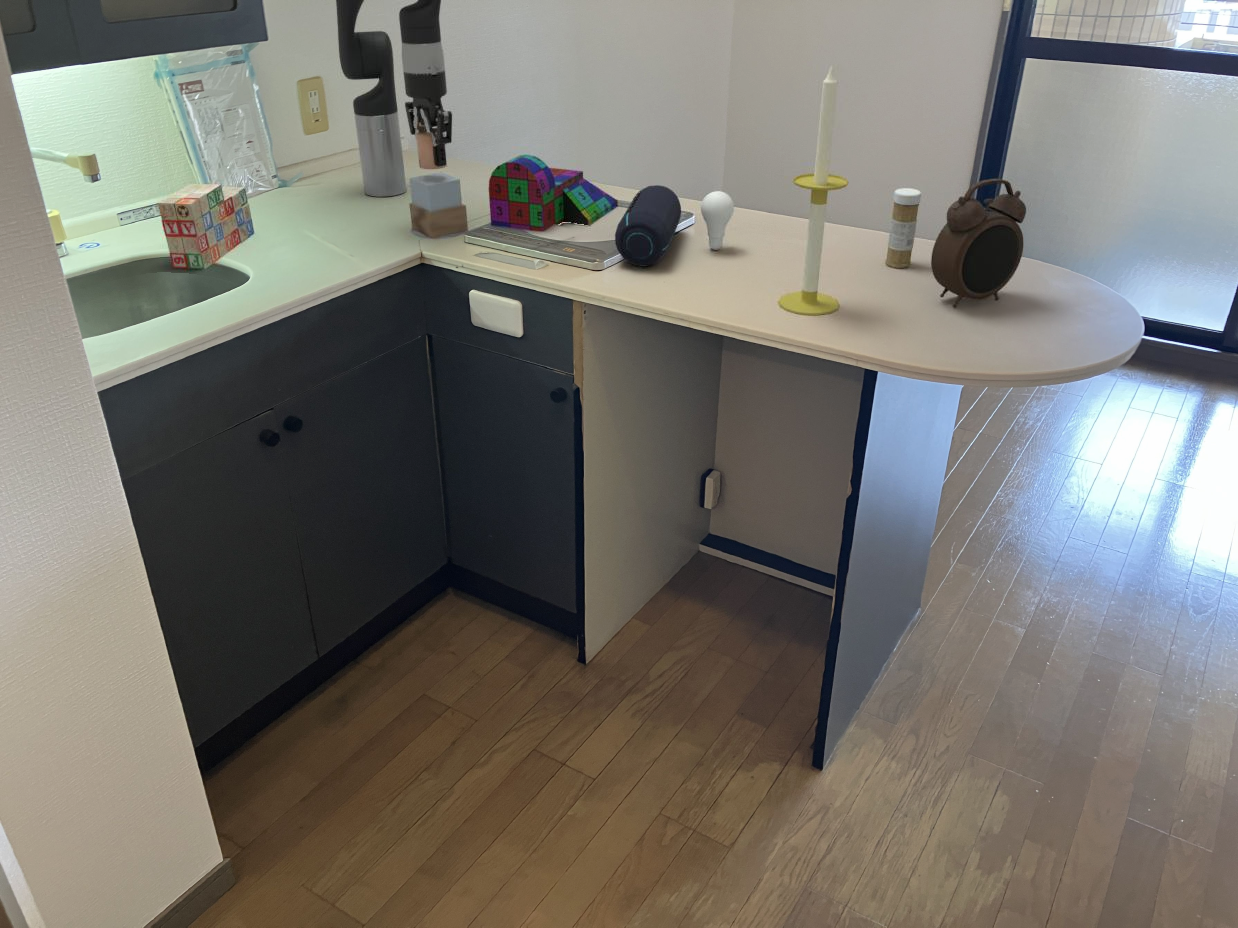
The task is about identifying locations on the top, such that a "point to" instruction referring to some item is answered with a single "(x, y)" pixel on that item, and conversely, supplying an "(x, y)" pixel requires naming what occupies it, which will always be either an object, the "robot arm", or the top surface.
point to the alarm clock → (979, 244)
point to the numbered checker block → (543, 196)
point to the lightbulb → (717, 216)
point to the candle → (817, 212)
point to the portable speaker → (648, 225)
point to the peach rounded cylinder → (426, 151)
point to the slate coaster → (437, 237)
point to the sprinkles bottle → (903, 227)
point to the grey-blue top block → (435, 191)
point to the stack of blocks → (204, 223)
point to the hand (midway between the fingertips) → (433, 162)
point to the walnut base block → (439, 221)
